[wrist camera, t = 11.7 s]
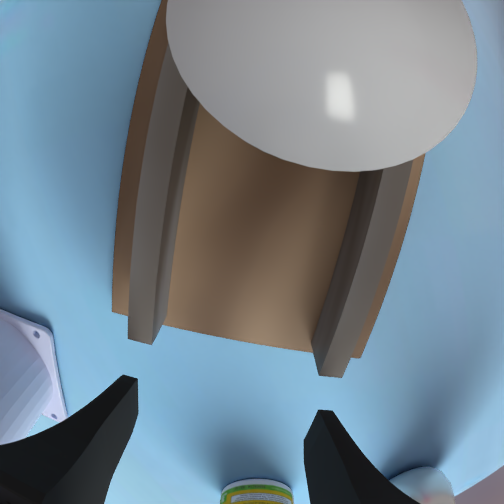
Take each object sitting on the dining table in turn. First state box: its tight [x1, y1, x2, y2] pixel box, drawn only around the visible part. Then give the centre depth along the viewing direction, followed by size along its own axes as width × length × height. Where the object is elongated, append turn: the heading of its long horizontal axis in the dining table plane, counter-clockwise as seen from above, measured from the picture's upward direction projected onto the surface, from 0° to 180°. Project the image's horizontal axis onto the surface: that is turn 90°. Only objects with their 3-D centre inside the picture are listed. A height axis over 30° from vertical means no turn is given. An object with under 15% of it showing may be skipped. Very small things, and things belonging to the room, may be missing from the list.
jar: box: [166, 0, 477, 172], centre depth 7 cm, size 5×5×8 cm
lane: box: [112, 0, 425, 378], centre depth 10 cm, size 12×17×4 cm
